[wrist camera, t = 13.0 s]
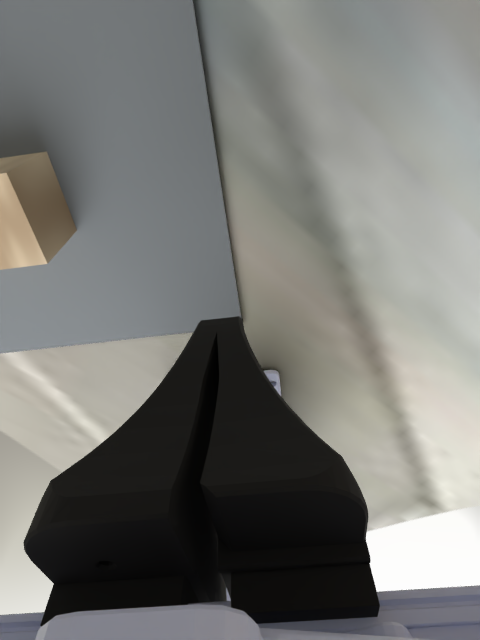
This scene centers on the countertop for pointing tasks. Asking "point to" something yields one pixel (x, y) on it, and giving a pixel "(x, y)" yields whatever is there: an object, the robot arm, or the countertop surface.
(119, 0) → the rubber mat
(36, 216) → the beech block
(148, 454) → the robot arm
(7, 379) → the countertop surface
